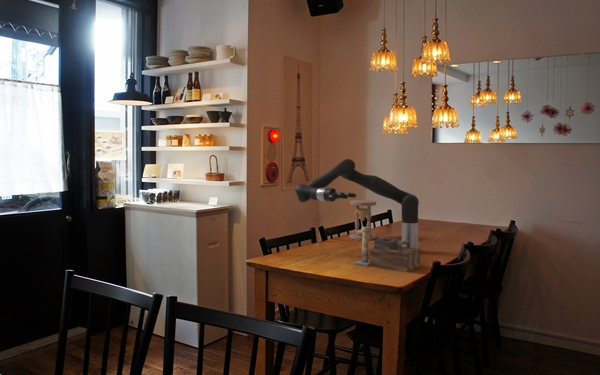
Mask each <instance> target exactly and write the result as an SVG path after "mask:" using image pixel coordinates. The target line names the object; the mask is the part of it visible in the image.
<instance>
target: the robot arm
mask: <svg viewBox="0 0 600 375" xmlns="http://www.w3.org/2000/svg"><path fill="white" fill-rule="evenodd" d="M355 168H356V163H355V162H354V160H352V159H350V158H346V159H343V160H342V161H340V162H339V163H338V164H337V165H335V166H334V167H333V168H331V169H330V170H328V171H327V172H326V173H323V174H322V175H321V176H319V177H317V178H315V179H313V180H311V181H310V182H309V184H305V183H300V184H297V186H295V190H294V191H295V194H296V197H297V199H298V201H299V202H300V203H307V202H308V201H309V200H312V201H321V202H331V203H333V202H335V201H336V200H340V199H344V200H345V199H348V198H353V199H354V198H355V199H356V197H357V194H356V193H354V192H352V193H351V192H347V191H337V190H336V189H335V188H334V187H328V186H329V185H330V184H332V182H334V181H335V180H336V179H337V178H338V177H342V178H343V179H345V180H347V181H350V182H353V183H355V184H357V185H359V186H361V187H363V188H365V189H367V190H368V191H371V192H372V193H375V194H376V195H377V196H381V197H383V198H387V199H390V200H392V201H395V202H396V203H398V204H399V205H401V242H403V241H406V240H410V247H412V248H419V247H418V246H419V245H418V244H419V203H420V201H419V199H418V197H417V195H415V194H413V193H409V192H407V191H405V190H401V189H400V188H398V187H396V186H395V185H394V184H391V183H390V181H389V182H388V181H386V180H385V179H383V178H381V177H379V176H377V175H371V174H365V173H361V172H359V171H358V170H357V169H355ZM402 246H403V247H407V244H404V245H402Z"/></svg>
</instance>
